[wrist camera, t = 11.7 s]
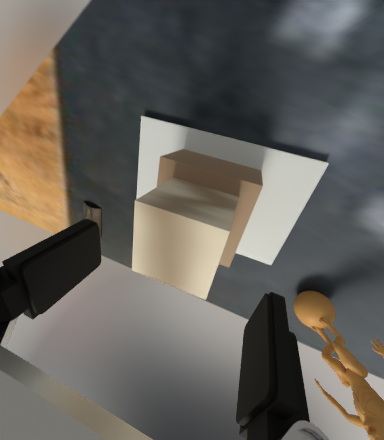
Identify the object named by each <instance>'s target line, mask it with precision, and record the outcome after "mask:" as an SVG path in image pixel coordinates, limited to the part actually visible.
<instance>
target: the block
mask: <svg viewBox="0 0 384 440" xmlns="http://www.w3.org/2000/svg"><path fill="white" fill-rule="evenodd" d="M84 219H89V220H92V221H94V222H97V224H98V226H99V230H100V237H101V236H102V226H101V224H102V223H101V208H99V207H97V206H95V205H93V204H90V203H88V202H86V201H84V205H83V220H84Z"/></svg>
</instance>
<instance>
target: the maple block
mask: <svg viewBox="0 0 384 440" xmlns="http://www.w3.org/2000/svg"><path fill="white" fill-rule="evenodd" d="M238 199H239V197H238V196H235V195H231V194H228V193H224V192H221V191H218V190H214V189H211V188H207V187H204V186H201V185H197V184H194V183H191V182H187V181H184V180H180V179H177V178H174V177H172V178H171V179H169V180H167V181H166V182H164V183H163V184H161V185H159V186H158V187H156V188H154V189H153V190H151V191H150V192H148V193H146V194H145V195H143V196H141V197H140V198H138V199H136V200H135V212H134V235H133V259H132V270H133V271H135V272H138V273H140V274H143V275H145V276H148V277H150V278H153V279H155V280H157V281H160V282H162V283H165V284H167V285H170V286H172V287H175V288H177V289H180V290H182V291H185V292H187V293H190V294H192V295H195V296H197V297H199V298H202V299H204V300H206V298H207V295H208V292H209V289H210V286H211V283H212V281H213V278H214V275H215V272H216V269H217V267H218V264H219V261H220V258H221V255H222V253H223V250H224V247H225V244H226V241H227V239H228V236H229V233H230V230H231V226H232V222H233V218H234V214H235V210H236V206H237V202H238Z"/></svg>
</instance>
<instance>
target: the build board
mask: <svg viewBox="0 0 384 440" xmlns="http://www.w3.org/2000/svg"><path fill="white" fill-rule="evenodd" d="M328 164H329V163H327V162H324V161H320V160H316V159H312V158H308V157H304V156H300V155H296V154H292V153H289V152H285V151H281V150H277V149H273V148H269V147H265V146H261V145H257V144H253V143H249V142H245V141H241V140H237V139H233V138H229V137H225V136H221V135H217V134H213V133H209V132H206V131H202V130H198V129H194V128H190V127H186V126H182V125H178V124H174V123H170V122H166V121H162V120H158V119H154V118H150V117H146V116H141V130H140V147H139V165H138V182H137V199H138V198H140V197H141V196H143V195H145V194H146V193H148V192H150V191H151V190H153V189H154V188H156V187H158V186H159V185H161V184H163V183H164V182H166V181H167V180H169V179H171V178H172V177H174V178H177V179H180V180H184V181H187V182H191V183H194V184H197V185H201V186H204V187H207V188H211V189H214V190H218V191H221V192H224V193H228V194H231V195H235V196H238V197H239V199H238V202H237V206H236V210H235V214H234V218H233V222H232V226H231V230H230V233H229V236H228V239H227V241H226V244H225V247H224V250H223V253H222V255H221V258H220V261H219V264H221V265H223V266H226V267H230V264H231V262H232V259H233V257H234V255H235V253H238V254H241V255H244V256H246V257H249V258H252V259H255V260H258V261H260V262H263V263H266V264H269V265H272V263H273V261H274V259H275V258H276V256H277V254H278V252H279V251H280V249H281V247H282V245H283V244H284V242H285V240H286V238H287V236H288V235H289V233H290V231H291V229H292V228H293V226H294V224H295V222H296V221H297V219H298V217H299V215H300V214H301V212H302V210H303V208H304V207H305V205H306V203H307V201H308V199H309V198H310V196H311V194H312V192H313V191H314V189H315V187H316V185H317V184H318V182H319V180H320V178H321V177H322V175H323V173H324V171H325V170H326V168H327V166H328Z"/></svg>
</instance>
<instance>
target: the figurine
mask: <svg viewBox="0 0 384 440" xmlns="http://www.w3.org/2000/svg"><path fill="white" fill-rule="evenodd" d="M294 310H295V313H296V315H297V317H298V318H299V320H300V321H301V322H302V323H304V324H305V325H306V326H308V327H310V328H312V329H313V330H314V331H316V332H318V333H319V334H320V335H321V336H322V338H323V339H324V340H325V341H326V343H327V344H328V345H327V346H326V347H325V349H324V350H323V351H322V358H323V359H324V360H325V361H326V362H327V363H328V364H329V365H330V367H331V368H332V369H333V370H334V372H336V374H337V375H338V377H339V379H340V380H341V382H342V384H343V385H344V386H346V387H349V386H350V385H351V388H352V391H353V397H354V405H355V408H356V411H357V412H358V415H359V416H356V415H351V414H348V413H347V412H346V411H345V409H344V408H343V407H342V406H341V405H340V404H339V403H338V402H337V401H336V400H335V399H334V398H333V397H332V396H331V395H329V394H328V393H327V392H325V391H324V390H323V389H322V387H321V386H320V384H319V383H318V381H316V379H315V381H316V383H317V385H318V386H319V388H320V390H321V391H322V392H323V394H324V395H325V396H326V397H327V399H328V400H329V401H330V402H331V403H332V404H333V405H334V406H335V407H336V408H337V409H338V410H339V411H340V412H341V413H342V415H343V416H344V417H345V418H346V419H347V420H348V421H349V422H351V423H353V424H355V425H357V426H359V427H362V428H364V429H365V430H366V431H367V433H368V436H369V438H370V439H371V440H384V400H383V399H382V398H381V397H380V396H379V395H378V394H377V393H376V392H375V391H374V390H373V389H372V388H371V387H370V385H369V384H368V382H367V381H366V380H365V379H364V378H365V377H367V375H368V372H367V370H366V368H365V367H364V366H363V365H362V364H361V363H360V362H359V361H358V360H357V359H356V358H355V357H354V356H353V355H352V354H351V353H350V352H349V351H348V350H347V349H346V348H344V347H343V346H344V345H345V340H344V339H343V338H342V336H341V335H340V334H339V332H338V331H337V330H336V329H335V328H334V327H333V326H332V324H333V322H334V320H335V316H336V313H335V308H334V306H333V304H332V303H331V301H330V300H329V299H328V298H327V297H326V296H324V295H323V294H321V293H319V292H316V291H304V292H302V293H300V294H299V295H298V296H297V297H296V299H295V301H294ZM326 328H328V329H329V330H330V331H331V332H332V333H333V334H334V335H335V336H336V337H337V338H336V339H335V341H334V343H332V342H331V341H330V339H329V338H328V337H327V335H326V334H325V333H324V331H323V329H326ZM373 340H374V339H373ZM374 341H375V342H376V344H377V345H375V344H374V343H373V342H372V341H370V342H371V343H372V344H373V345H374V346H375V347H376V348H377V350H375V349H373V348H372V349H373V350H374V351H375V352H377V353H379V354H381V355H382V356H383V358H384V346H383V345H382V344H381V342H380V341H379V340H378V342H379V343H380V345H379V344H378V342H377V341H376V340H374ZM333 344H334V347H333ZM334 349H335V351H336V352H337V354H338V356H339V358H340V360H341V362H342V363H343V364H344V365H345V366H346V367H347V370H346V368H345V367H344V366H343V364H342V363H341V362H340V361H339V360H338V359H335V358H333V357H332V356H331V355H330V354H333V353H334Z"/></svg>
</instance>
